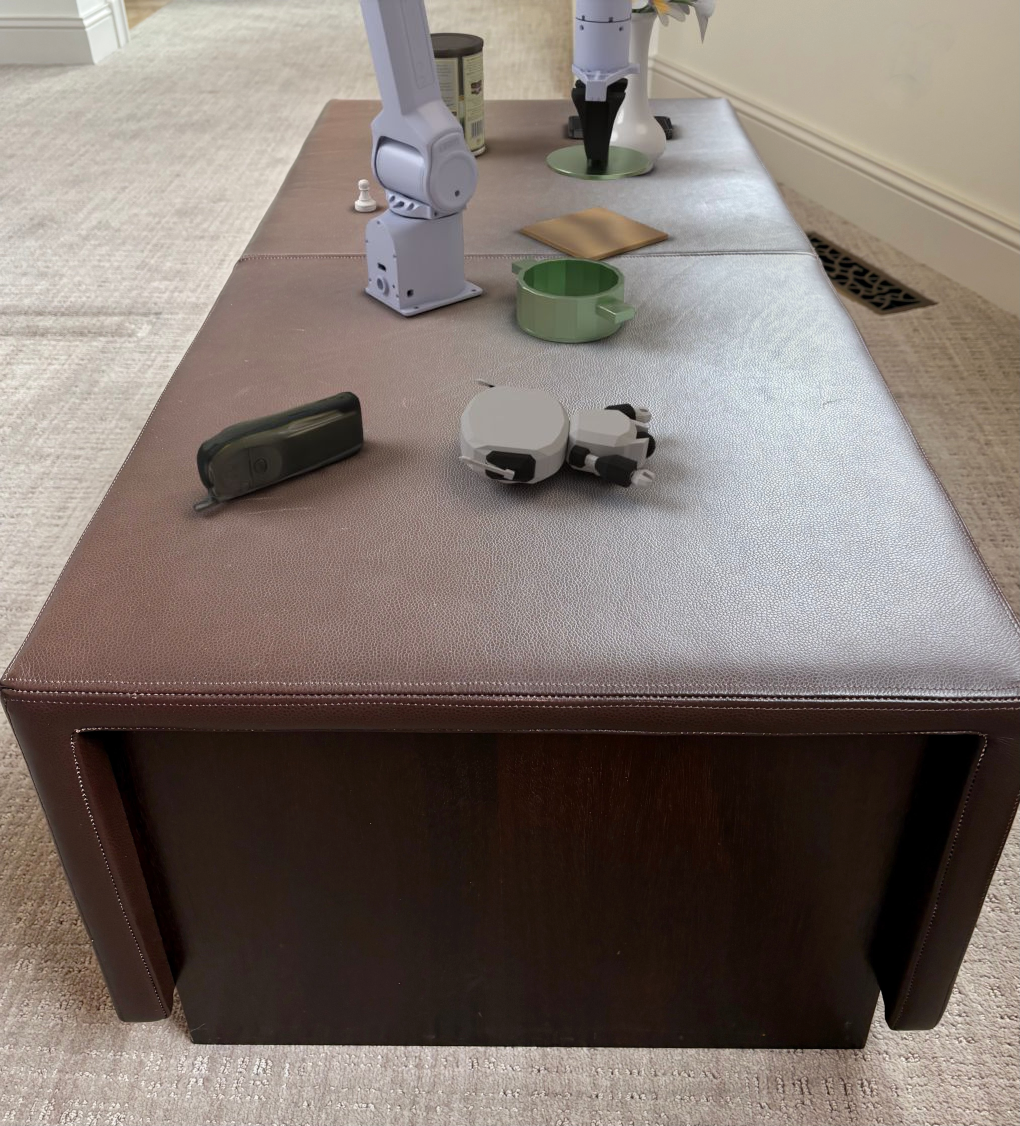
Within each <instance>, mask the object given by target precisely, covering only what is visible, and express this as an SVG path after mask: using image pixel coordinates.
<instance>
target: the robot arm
mask: <svg viewBox="0 0 1020 1126" xmlns="http://www.w3.org/2000/svg"><path fill="white" fill-rule="evenodd" d="M358 1H359V6H360V10H361V15H362V18H363V19H362V20H363V24H364V27H365V32H366V37H367V41H368V47H369V50H370V56H371V59H372V64H373V68H374V73H375V78H376V81H377V82H376V83H377V87H378V92H379V95H380V100H381V104H382V105H381V106H382V109H381V111H380V112H379V113H378V114H377V115H376V116H375V118H374V119H373V120H372V121H371V123H370V129H371V135H372V150H371V157H370V165H371V172H372V174H373V178H374V180H375V182H376V183H377V184H378V185H379V187H381V188H383V189H384V191H385V192H384V193H385V201H386V202H387V203H388V208H387V209H386V210H385V211H383V213H382V214H380V215H378V216H376V217H373V218H371V219H369V220H368V222H367V223H366V226H365V231H364V244H365V256H366V267H367V268H366V269H367V278H368V279H367V280H368V286H366V287H365V292H366V294H368V295H370V296H372V297H373V298H375V299H376V300H378V301H379V302H381V303H383V304H384V305H386V306H387V307H389V308H391V309H392V310H394V311H396V312H398V313H400V314H401V315H403V316H405V317H412V316H414V315H417V314H419V313H420V314H421V313H424V312H427V311H430V310H434V309H436V308H440V307H443V306H446V305H450V304H454V303H457V302H460V301H464V300H466V299H469V298H473V297H476V296H479V295H482V294H483V289H482V287H480V286H479V285H476V284H474V283H472V282H470V281H469V280H467V279H466V273H465V271H466V269H465V242H464V241H465V240H464V239H465V237H464V211H466V210H467V209H468V208H467V204H468V203H470V201H471V199H472V198H473V196H474V194H475V191H476V188H477V185H478V180H479V168H478V167H479V166H478V163H477V159H476V156H474V155H473V154H472V152H471V151H470V149H469V148H468V146H467V144H466V142H465V139H464V134H463V128H462V126H461V125H460V123H459V122H458V121H457V119H456V118H455V116H454V115H453V114H452V113H451V111H450V110H449V109H448V107H447V106H446V105H445V103H444V102H443V100H442V97H441V91H440V86H439V80H438V75H437V69H436V64H435V58H434V53H433V48H432V42H431V37H430V34H431V31H430V27H429V21H428V15H427V9H426V5H425V0H358ZM631 15H632V0H575V14H574V16H575V17H574V41H573V43H574V45H573V47H574V48H573V62H572V63H571V73H572V74H573V75H574V76H575V77H577V79H576V80H575V83H574V87H572V89H571V93H570V97H571V101H572V103H573V104H574V107H575V110H576V112H577V116H579V118H580V122H581V127H582V134H583V138H582V141H583V145H584V149H585V154H586V158H587V159H594V160H605V159H606V156H607V153H608V149H609V145H610V140H611V135H612V130H613V125H614V121H615V118H616V115H617V113H618V111H619V108H620V107H621V105H622V103H623V101H624V99H625V96H626V92H625V90H626V88H627V86H628V79H627V78H623V77H625V76H626V75H628V74H638V73H639V70H640V64H639V63H630V62H629V48H630V31H631Z"/></svg>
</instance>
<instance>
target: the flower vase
mask: <svg viewBox="0 0 1020 1126" xmlns="http://www.w3.org/2000/svg"><path fill="white" fill-rule="evenodd" d="M716 6H717V0H632V15H631V31H630V48H629V62H630V63H639V64H640V70H639V73H638V74H628V75H626V76H625V77H623V78H627V79H628V86H627V88H626V90H625V92H626V96H625V99H624V101H623V103H622V105H621V107H620V108H619V111H618V113H617V115H616V118H615V121H614V125H613V130H612V135H611V140H610V145H612V146H620V147H625V148H629V149H633V150H636V151H638V152H641V153H643V154H644V155H646V156H647V157H648V159H649V166H648V168H647V169H646V170H645V171H644V172H642V173H640V174H638V175H637V176H639V175H643V174H644V175H645V174H647V173H650V172H651V171H652V170H653V166H654V164H653V163H655V162H657V161H658V160H659V159H660V158H661V157H662V155H663V154H664V152H665V151H666V149H667V139H666V136H665V133H664V130H663V129H662V127H661V126H660V124H659V123H658V122H657V121H656V119H655V118H654V116H655V115H654V113H653V111H652V109H651V106H650V102H649V94H648V73H649V72H648V71H649V70H648V69H649V68H648V66H649V52H650V51H649V50H650V42H651V36H652V32H653V27H654V24H655V22H656V19H657V18H658V19H659V21H660V23H661V24H662V26H663V27H668V25H669V22H670V20H669V17H671V18H673V19H675V20H676V21H678V22H680V23H681V22H682V23H685V22H686V19H687V17H686V16H689V15H690V13H691V9H690V7H692V8H694V11H695V16H696V19H697V22H698V26H699V31H700V39H701V44H704V40H705V35H706V32H707V28H708V24H709V18H711V17H712V15H713V14H714V12H715V9H716Z"/></svg>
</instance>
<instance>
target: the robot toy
mask: <svg viewBox="0 0 1020 1126" xmlns="http://www.w3.org/2000/svg"><path fill="white" fill-rule="evenodd" d="M474 381H475V382H476V384H477V385H479V386H482V387H487V389H483V390H482V391H480V392H479V393H478V394H476V395H475V396H474V397H473V398H471V399H470V401H469V402H468V403H467V405H466V407H465V408H464V410H463V412H462V414H461V416H460V427H459V428H460V429H459V443H460V452H461V456H458V457H457V458H458V459H459V461H460V462H461V463H463V464H466V465H467V466H468V467H469V469H471V470H472V471H473V472H474V473H476V474H477V475H479V476H481V478H483V479H485V480H493V481H497V482H501V483H502V484H516V483H523V484H535V483H537V482H540V481H543V480H545V479H547V478H549V477H551V476H553V475H554V474H555V473H557V472H558V471H559V470H560V468H561V467H562V465H563V464H564V462H565V460H566V462H567V463H568V465H569V466H570V467H571V468H572V469H574V470H578V471H583V472H588V473H593V474H594V475H595V476H596V477H601V478H602V479H603V480H604V481H605V482H608V483H610V484H613V485H616V486H618V487H621V488H623V489H628V488H629V487H630V486H632V485H634V486H635V488H638V489H645V490H647V489H649V488H651V487H652V485H653V484H654V483H655V481H656V475H655V473H654V472H652V471H650V470H649V469H643V466H644V465H645V464H646V459H648V458H650V457H651V456H652V455H653V454H654V453H655V451H656V448H657V445H656V443H657V442H656V440H655V438H654V436H653V435H651V433H649V426H647V425H646V424H647V423H649V422H650V421H651V420H652V416H653V415H652V413H651V412H649V409H647V408H646V407H644V406H634V407H633V406H632V404H630V403H619V404H612V405H607V406H606V407H605V408H603V409H599V408H598V409H597V408H596V409H595V408H592V409H591V408H588V409H585V408H584V409H578V410H577V411H575V412H574V413H571V415H570V417H569V414H568V411H567V410H566V407H565V406H564V405H563V403H562V402H561V401H560V400H559V399H558V398H557V397H555V396H554V395H553V394H551V393H549V392H547V391H546V390H544V389H539V388H529V387H521V386H519V387H518V386H508V385H499V384H498V385H497V384H494V383H491V382H488V381H487V380H485V379H482V378H477V379H474ZM641 468H642V469H641Z"/></svg>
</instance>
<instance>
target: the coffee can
mask: <svg viewBox="0 0 1020 1126" xmlns="http://www.w3.org/2000/svg"><path fill="white" fill-rule="evenodd" d="M430 37H431V42H432V48H433V53H434V58H435V64H436V69H437V75H438V80H439V86H440V91H441V97H442V100H443V102H444V103H445V105H446V106H447V107H448V109H449V110H450V111H451V113H452V114H453V115H454V116H455V118H456V119H457V121H458V122H459V123H460V125H461V126H462V128H463V134H464V139H465V142H466V144H467V146H468V148H469V149H470V151H471V152H472V154H473V155H474V157H476V156H480V155H481V154H483V153H484V152H485V150H486V144H485V143H486V141H485V139H486V138H485V137H486V135H485V134H486V133H485V98H484V93H485V92H484V89H485V88H484V81H485V79H484V55H483V54H484V45H485V40H484V39H483V38H482V37H481V36H479V35H475V34H470V33H462V32H433V33H430Z"/></svg>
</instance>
